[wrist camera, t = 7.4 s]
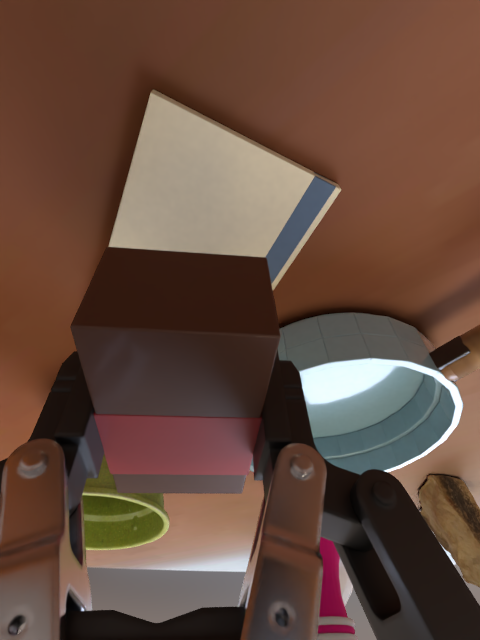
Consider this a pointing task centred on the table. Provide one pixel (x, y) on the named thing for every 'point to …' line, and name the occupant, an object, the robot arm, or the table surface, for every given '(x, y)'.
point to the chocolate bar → (177, 366)
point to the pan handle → (459, 355)
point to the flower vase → (344, 583)
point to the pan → (370, 389)
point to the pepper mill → (332, 599)
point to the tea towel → (215, 192)
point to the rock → (454, 521)
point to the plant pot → (120, 514)
